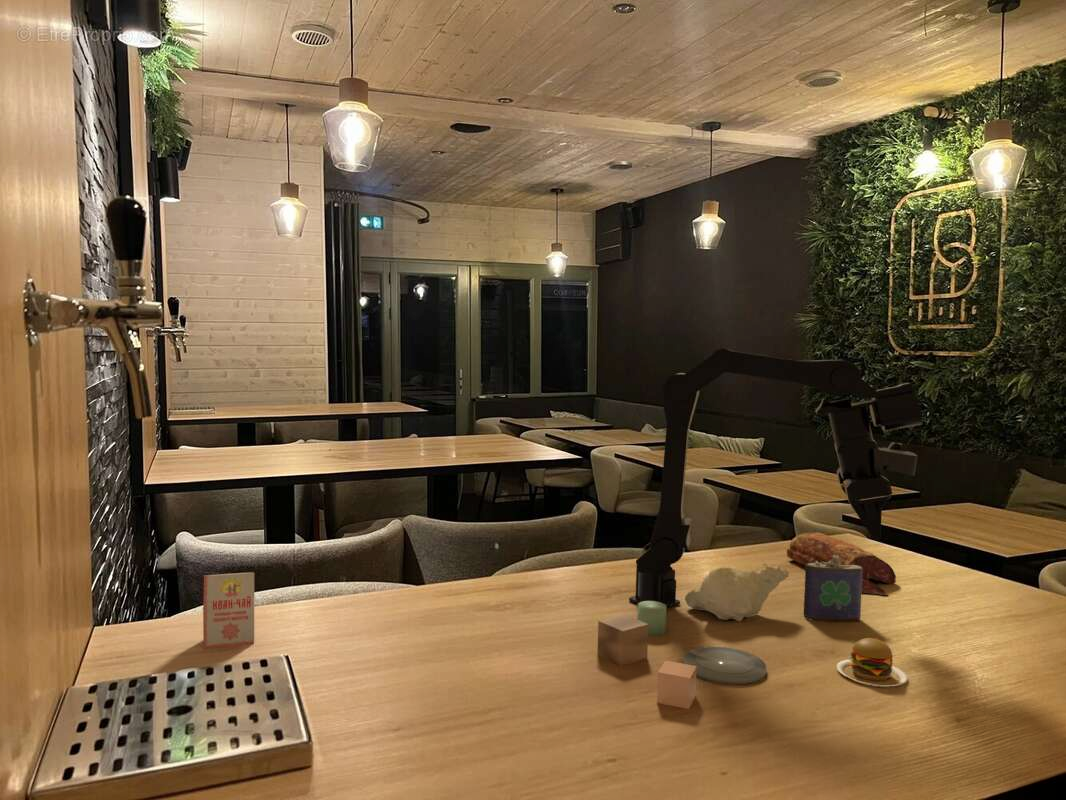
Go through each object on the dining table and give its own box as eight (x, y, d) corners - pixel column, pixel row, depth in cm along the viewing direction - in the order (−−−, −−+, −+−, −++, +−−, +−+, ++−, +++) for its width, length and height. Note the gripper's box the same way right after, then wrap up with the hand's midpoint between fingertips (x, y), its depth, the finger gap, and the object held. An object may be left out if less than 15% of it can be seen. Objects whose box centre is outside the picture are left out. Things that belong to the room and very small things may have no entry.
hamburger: (863, 703, 101) (865, 661, 101) (806, 666, 113) (808, 628, 112) (940, 694, 104) (943, 653, 104) (877, 659, 116) (879, 622, 115)
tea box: (205, 639, 116) (205, 572, 115) (254, 635, 118) (254, 569, 117) (203, 648, 112) (203, 579, 111) (254, 644, 114) (253, 576, 114)
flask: (857, 617, 132) (860, 553, 131) (863, 623, 129) (867, 558, 128) (801, 615, 132) (804, 552, 132) (806, 621, 129) (809, 556, 129)
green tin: (631, 629, 124) (632, 604, 124) (651, 623, 127) (651, 599, 126) (651, 637, 120) (652, 612, 120) (671, 631, 123) (672, 606, 123)
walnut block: (597, 654, 113) (598, 620, 113) (622, 647, 116) (623, 614, 116) (621, 666, 109) (622, 631, 109) (647, 658, 112) (648, 624, 112)
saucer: (667, 663, 111) (667, 656, 111) (719, 646, 117) (719, 640, 117) (730, 691, 102) (731, 684, 102) (782, 671, 109) (782, 665, 109)
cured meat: (836, 600, 141) (839, 562, 141) (766, 562, 166) (768, 530, 165) (924, 597, 145) (927, 561, 145) (843, 561, 170) (845, 529, 169)
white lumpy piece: (681, 634, 128) (754, 592, 120) (666, 593, 132) (736, 549, 124) (736, 643, 137) (807, 604, 129) (721, 604, 141) (788, 564, 134)
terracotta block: (656, 703, 98) (658, 672, 98) (664, 690, 102) (665, 660, 102) (689, 709, 97) (690, 678, 97) (695, 696, 100) (696, 666, 100)
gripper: (917, 433, 115) (939, 538, 115) (897, 422, 133) (916, 512, 133) (837, 447, 119) (859, 549, 119) (828, 434, 136) (847, 522, 136)
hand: (873, 532), depth 127 cm, fingers open, 9 cm apart
